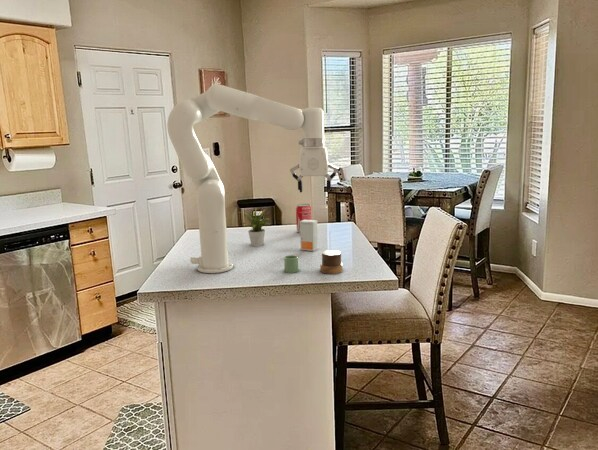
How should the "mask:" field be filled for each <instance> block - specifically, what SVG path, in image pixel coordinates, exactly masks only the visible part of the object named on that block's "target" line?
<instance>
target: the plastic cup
mask: <svg viewBox="0 0 598 450" xmlns="http://www.w3.org/2000/svg"><path fill="white" fill-rule="evenodd" d="M283 268H284V270H283V271H284V272H285V273H287V274H295V273H298V272H299V256H298V255H293V254H291V255H285V256H284V257H283Z"/></svg>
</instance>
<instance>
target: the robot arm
mask: <svg viewBox="0 0 598 450" xmlns="http://www.w3.org/2000/svg"><path fill="white" fill-rule="evenodd" d="M220 112H223V113H225V114H226V113H227V114H229V115H232V116H236V117H239V118H244V119H246V120H250V121H254V122H262V123H267V124H270V125H274V126H277V127H280V128H284V129H286V130H289V131H295V130H298V129H301V131H302V134H301V135H302V139H301V140H298V145H301V146H302V147H300V150H299V161H298V162H299V163H298V164H296V165H295V166H292V167H291V168H289V172H290V174H291V175H292V178H294V180H296V181H297V190H298V191H299V193H303V191H304V189H303V180H302V179H303V178H304V177H325V179H326V193H329V192H330V190H332V180H333V179H334V178H335V177H336V175H337V173H338V171H339V167H337V166H335V165H333V164H332V163H329V157H328V149H327V146H325V130H324V129H325V125H324V124H325V122H324V119H325V118H324V109H322V108H321V107H305V108H298V107H295V106H292V105H289V104H285V103H281V102H279V101H275V100H271V99H268V98H266V97H263V96H260V95H257V94H254V93H250V92H247V91H243V90H240V89H237V88H232V87H230V86H227V85H223V84H217V83H215V84H213V85H210V87H208V89H207V90H206V91H204V92H201V94H199V95H196V96H195V97H192V98H189V99H183V100H180V101H178V102H177V103H176V104H175V105H174V107H172V109H171V111H170V113H169V114H168V118H167V123H166V128H167V133H168V137H169V139H170V142H171V144H172V146H173V149H174V150H175V153H176V156H177V157H178V160H179V161H180V163H181V166H182V168H183V170H184V173H185V175H186V176H187V177H188V178H189V179H191V181H192V183H193V185H194V187H195V189H196V200H195V201H196V208H197V219H198V228H199V229H198V230H199V231H198V232H199V243H200V244H199V245H200V256H199V257H193V256H191V257H190V259H189V260H190V261H189V262H190V263H191V264H192V265H196V264H197V265H198V266H197V271H198V272H199V273H204V274H219V273H224V272H228V271H230V270H232V269H233V268H234V264H233V263H232V262H231V261H229V249H228V248H229V247H228V234H227V218H226V217H227V216H226V193H225V192H226V191H225V186H224V184H223V182H222V180H221V178H220V175H219V173H218V171H217V169H216V167H215V164H214V163H213V161H212V159H211V157H210V156H209V155H208V154H207V153H205V151H204V150H203V148H202V146H201V143H200V141H199V138H198V137H197V135H196V133H195V130H194V125H197V124H200V123H201V122H202V121H205V120H207V119H208V118H211V117H212V116H214V115H217V114H218V113H220ZM298 169H299V170H298ZM329 169H331V170H333V171H332V173H331V174H329ZM297 170H298V171H299V175H298V174H297V173H296V171H297Z"/></svg>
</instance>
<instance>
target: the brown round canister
mask: <svg viewBox="0 0 598 450" xmlns="http://www.w3.org/2000/svg"><path fill="white" fill-rule="evenodd" d="M321 263H322V265H324V266H330V267H333V266H339V265H341V263H342V252H341V251H340V250H333V249H332V250H331V249H330V250H324V251H322V252H321Z"/></svg>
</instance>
